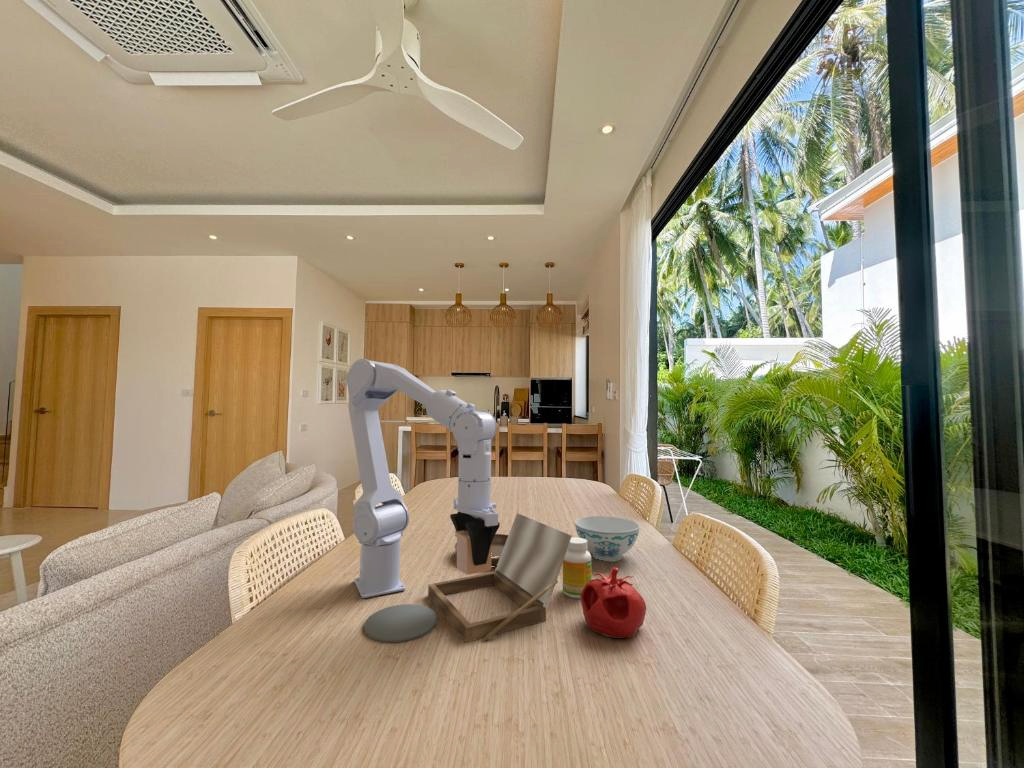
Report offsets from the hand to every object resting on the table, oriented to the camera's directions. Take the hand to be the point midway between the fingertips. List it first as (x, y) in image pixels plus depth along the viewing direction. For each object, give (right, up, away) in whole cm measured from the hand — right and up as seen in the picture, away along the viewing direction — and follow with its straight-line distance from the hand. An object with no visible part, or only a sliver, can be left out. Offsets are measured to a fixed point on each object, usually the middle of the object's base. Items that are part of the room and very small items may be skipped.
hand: (473, 559), depth 72 cm
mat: (-11, -8, -6) cm, 15 cm away
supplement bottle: (+19, -9, +6) cm, 22 cm away
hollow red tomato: (+23, -8, -7) cm, 25 cm away
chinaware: (+29, -11, +27) cm, 41 cm away
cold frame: (+4, -8, +1) cm, 10 cm away
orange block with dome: (0, -2, 0) cm, 2 cm away
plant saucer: (+2, -11, +26) cm, 29 cm away
